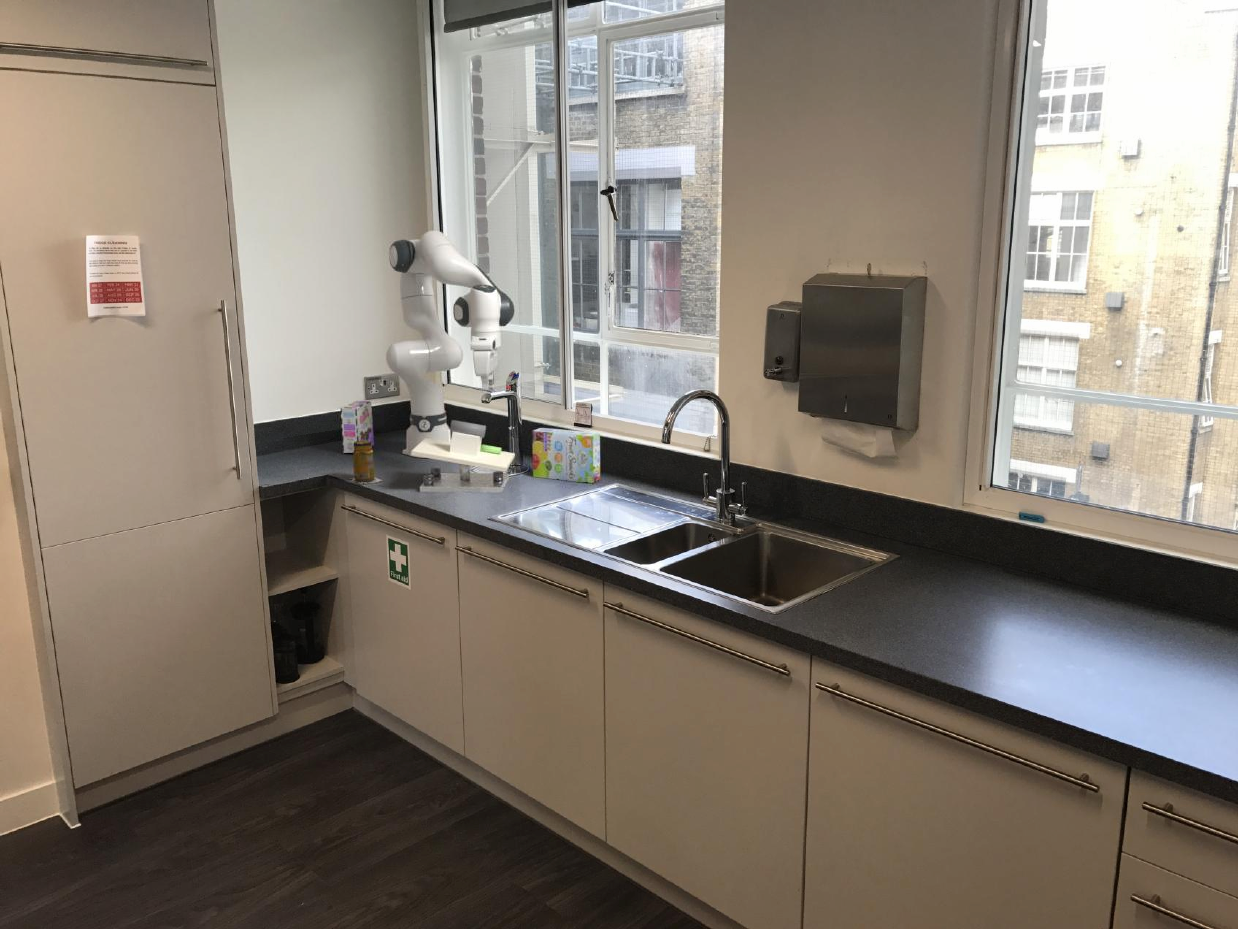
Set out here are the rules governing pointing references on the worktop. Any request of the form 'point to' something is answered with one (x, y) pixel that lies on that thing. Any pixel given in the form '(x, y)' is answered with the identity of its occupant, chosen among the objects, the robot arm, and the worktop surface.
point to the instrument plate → (462, 459)
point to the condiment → (363, 463)
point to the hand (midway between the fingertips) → (487, 386)
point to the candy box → (356, 424)
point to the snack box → (566, 455)
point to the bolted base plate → (463, 481)
